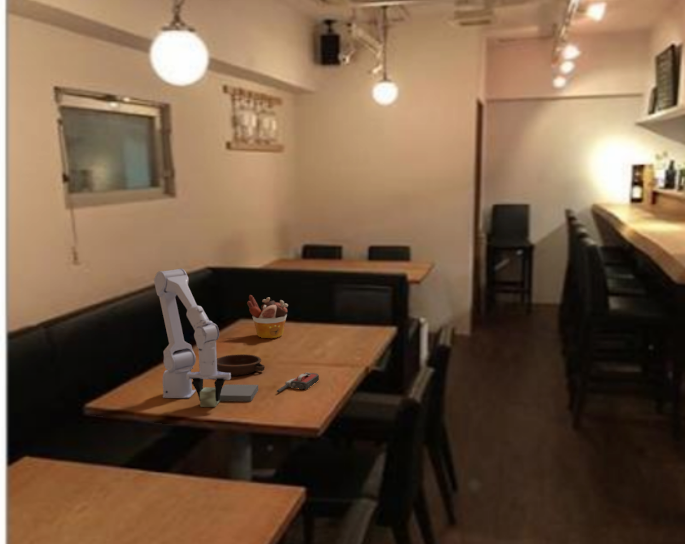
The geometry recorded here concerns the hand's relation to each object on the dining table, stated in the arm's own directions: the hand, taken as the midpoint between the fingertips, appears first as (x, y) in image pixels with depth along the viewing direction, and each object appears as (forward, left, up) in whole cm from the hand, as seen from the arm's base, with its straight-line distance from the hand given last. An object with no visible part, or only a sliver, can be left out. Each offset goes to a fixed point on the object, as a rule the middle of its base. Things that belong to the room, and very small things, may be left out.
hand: (209, 400), depth 222 cm
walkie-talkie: (+27, +20, -2) cm, 34 cm away
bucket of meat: (+1, +97, -2) cm, 97 cm away
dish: (0, +39, -2) cm, 39 cm away
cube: (0, 0, -1) cm, 1 cm away
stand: (+7, +10, -2) cm, 12 cm away
